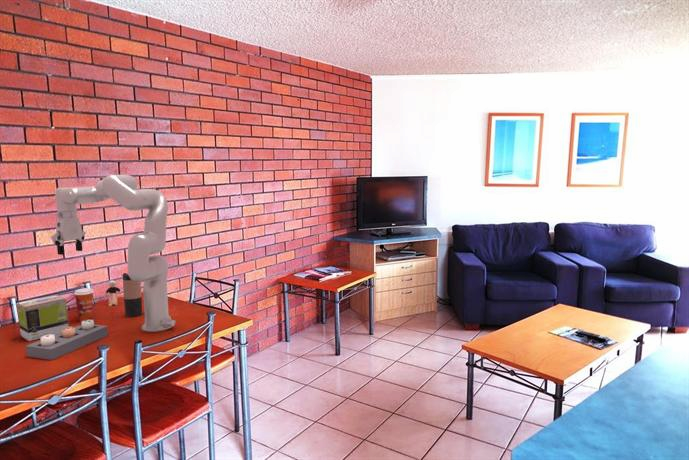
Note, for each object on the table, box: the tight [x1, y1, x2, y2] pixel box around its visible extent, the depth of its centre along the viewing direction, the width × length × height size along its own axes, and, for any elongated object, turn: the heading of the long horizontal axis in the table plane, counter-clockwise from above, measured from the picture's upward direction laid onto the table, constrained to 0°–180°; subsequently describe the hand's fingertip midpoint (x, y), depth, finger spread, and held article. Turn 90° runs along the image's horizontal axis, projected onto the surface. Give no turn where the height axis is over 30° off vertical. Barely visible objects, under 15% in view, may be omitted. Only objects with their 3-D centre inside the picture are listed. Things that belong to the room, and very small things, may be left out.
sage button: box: [80, 319, 95, 331], centre depth 187 cm, size 4×4×4 cm
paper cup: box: [73, 287, 94, 322], centre depth 210 cm, size 8×8×14 cm
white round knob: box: [40, 334, 56, 347], centre depth 170 cm, size 4×4×4 cm
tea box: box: [16, 294, 70, 342], centre depth 191 cm, size 15×10×15 cm
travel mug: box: [122, 272, 143, 318], centre depth 216 cm, size 8×8×20 cm
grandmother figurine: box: [104, 280, 122, 307], centre depth 233 cm, size 8×4×13 cm, turn 132°
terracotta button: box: [62, 326, 76, 339], centre depth 179 cm, size 4×4×4 cm
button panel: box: [25, 324, 109, 361], centre depth 179 cm, size 12×26×4 cm, turn 163°
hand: (70, 252), depth 208 cm, fingers open, 9 cm apart
